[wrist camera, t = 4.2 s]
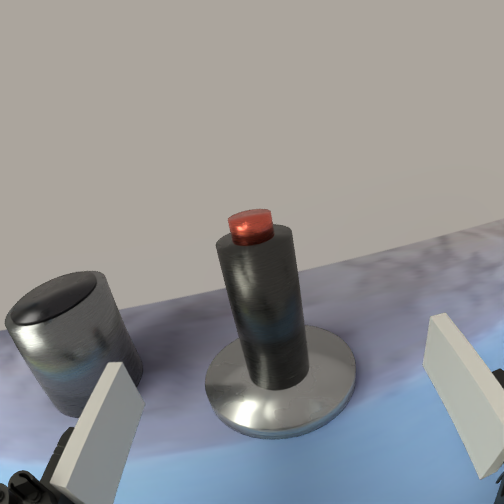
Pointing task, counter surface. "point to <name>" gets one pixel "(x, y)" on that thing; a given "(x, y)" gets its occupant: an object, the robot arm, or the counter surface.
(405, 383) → the counter surface
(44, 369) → the pot
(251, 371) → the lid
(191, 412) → the counter surface
